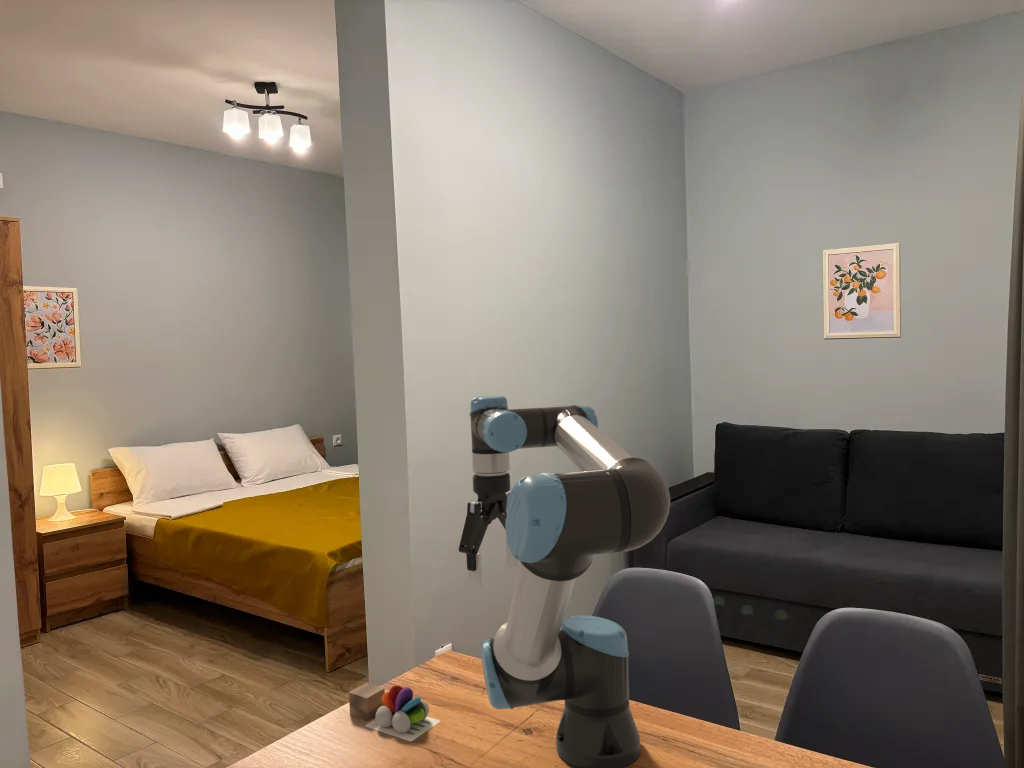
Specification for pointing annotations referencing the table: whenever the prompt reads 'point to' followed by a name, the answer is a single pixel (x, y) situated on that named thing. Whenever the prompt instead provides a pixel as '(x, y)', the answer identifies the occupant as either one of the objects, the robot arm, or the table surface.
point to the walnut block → (366, 701)
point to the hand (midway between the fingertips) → (494, 576)
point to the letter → (412, 733)
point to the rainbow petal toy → (401, 709)
